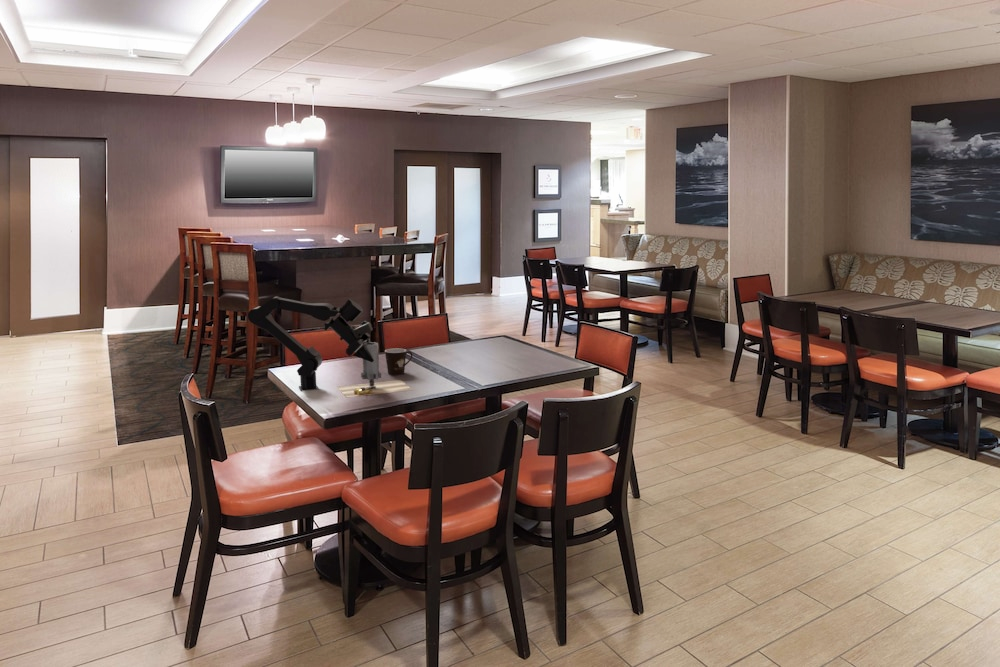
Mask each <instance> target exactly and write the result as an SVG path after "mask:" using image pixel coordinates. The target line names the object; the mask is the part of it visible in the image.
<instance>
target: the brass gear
mask: <svg viewBox="0 0 1000 667" xmlns="http://www.w3.org/2000/svg"><path fill="white" fill-rule="evenodd" d="M371 393H372V388H371V389H369V388H368V387H366V388H364V387H363V388H362V387H361V388H358V389H355V390H354V394H357V395H364V396H368V395H367V394H371Z"/></svg>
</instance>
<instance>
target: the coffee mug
mask: <svg viewBox="0 0 1000 667" xmlns="http://www.w3.org/2000/svg"><path fill="white" fill-rule="evenodd" d="M407 354H410V358H409V359H408V360H407V362H406V358H407ZM384 356H385V360H386V361H385V362H386V369H387V374H388V375H389V376H401V375H404V374H405V371H406V370H405V367H406V366H407V365H408V363H410V362H411V360H412V359H413V353H412V352H411V351H407V349H406V348H388V349H385V350H384Z"/></svg>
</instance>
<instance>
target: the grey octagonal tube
mask: <svg viewBox="0 0 1000 667" xmlns="http://www.w3.org/2000/svg"><path fill="white" fill-rule="evenodd" d="M363 344H364V343H363ZM365 349H366V350H367V351H368V353H369V354H370V355H371V357H372V358H373V359H374V361H373V362H370V361H367V360H364V359H362V366H363V367H362V369H363V370H362V372H360V375H361V376H360V378H361V379H362V380H368V381H369V380H371V379H374V380H378V379H381V378H382V372H381V371H380V369H379V368H380V366H379V365H380V362H379V359H380V358H379V342H376V341H374V342H372V341H370V342H367V343H365Z"/></svg>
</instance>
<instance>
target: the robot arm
mask: <svg viewBox="0 0 1000 667" xmlns="http://www.w3.org/2000/svg"><path fill="white" fill-rule="evenodd" d="M276 309H279V310H284V311H288V312H293V313H299V314H304V315H308V316H310V317H312V318H314V319H317V320H320V321H322V322H325V321H326V322H325V323H324V331H327V330H329V329H331V330H332V331H334V333H336V334H337V335H338V336H339V340H340V341H344V342H345V344H347V348H346V349H345V354H346V355H348V357H351V356H353V357H357V358H360V359H361V360H363V359H364V360H367V361H370V362H373V361H374V359H373V358H372V357H371V355H370V354H369V353H368V351H367V350H366V349H365V343H367V342H371V339H370V336H371V334H369V333H371V332H372V331H373V330H374V328H373V327H372V326H373V325H372V323H371V322H369V321H367V320H364V321H362V322H361V324H360V326H358V327H356V326H354V325H352V326H351V325H350V323H349V322H351V323H353V322H354V321H355V320H356V319H357V318H358V317H359V316H360V315H361V314H362V313H363V312H364V309H363V308H362V306H361V305H360V304H359V303H357V302H355V301H354V300H352V299H351V298H349V299H348V300H347V301H345V303H344V305H343V306H341V307H338V306H333V304H332V303H328V302H316V303H315V302H313V303H310V302H303V301H300V300H296V299H295V300H294V299H291V298H290V299H289V298H283V297H280V296H274V297H272V298H270V299H269V300H268V301H267V302H265V303H263V304H262V305H261V306H260V305H259V306H256V307H254V308H252V309H250V310H249V311H248V312H247V320H248V322H249V323H251V324H252V325H254V326H256V327H257V328H259V329H261V330H264V331H267V332H268V333H269V334H270V335H271V336H273V337H274V338H275V339H276V340H277V341H278V342H279V343H280V344H282V345H283V346H284V347H286V349H288V350H289V351H290V352H291V353H292V354H294V355H295V356H296V358H297V360H298V361H299V362H298V363H300V364H301V366H300V367H299V368H298V369H297V370H296V372H297V374H298V376H299V377H300V385H299V386H298V388H299V389H300V391H301V392H303V391H309V390H317V389H319V386H318V385H317V373H316V371H318V368H319V367H320V366H321V365H322V363H323V356H322V355H321V352H320V351H318V350H316V348H315V347H313V346H312V345H311V346H309V347H306V346H304V345H303V344H302V343H300V341H298V340H297V339H296V338H295V337H294V336H293V335H291V334H290V333H289V331H287V330H286V329H284V328H283V327H282V326H281V325H280V324H278V323H277V322H276V321H275V319H274V317H273V315H272V314H271V313H273V312H274V311H275V310H276ZM337 315H338V316H337ZM327 321H328V322H327ZM363 343H364V344H363Z"/></svg>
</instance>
